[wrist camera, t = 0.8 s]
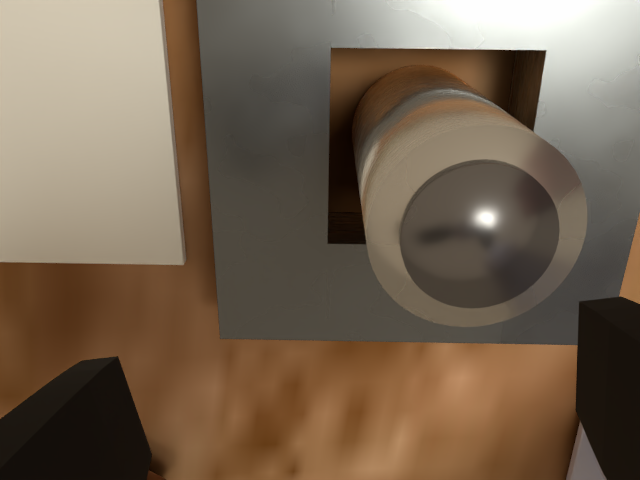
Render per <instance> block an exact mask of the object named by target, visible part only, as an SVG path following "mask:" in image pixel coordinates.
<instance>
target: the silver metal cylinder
mask: <svg viewBox="0 0 640 480" xmlns="http://www.w3.org/2000/svg"><path fill="white" fill-rule="evenodd" d="M352 143H353V150H354V157H355V165H356V172H357V179H358V186H359V193H360V201H361V208H362V215H363V222H364V229H365V236H366V244H367V250H368V256H369V260H370V263H371V266H372V269H373V271H374V273H375V275H376V277H377V279H378V281H379V282H380V284H381V285H382V287H383V288H384V290H385V291H386V292H387V293H388V294H389V295H390V296H391V298H392V299H393V300H394V301H396V302H397V303H398V304H399V305H400V306H402V307H403V308H404V309H406V310H408V311H409V312H411V313H412V314H414V315H416V316H418V317H421V318H423V319H425V320H428V321H431V322H434V323H437V324H442V325H447V326H456V327H477V326H484V325H491V324H495V323H498V322H502V321H505V320H508V319H511V318H513V317H516V316H518V315H520V314H522V313H524V312H526V311H528V310H530V309H531V308H533V307H534V306H536V305H537V304H539V303H540V302H542V301H543V300H544V299H545V298H547V297H548V296H549V295H550V294H551V293H552V292H553V291H554V290H555V289H556V288H557V287H558V286H559V285H560V284H561V283H562V282H563V280H564V279H565V278H566V277H567V275H568V274H569V273H570V271H571V269H572V268H573V266H574V264H575V262H576V261H577V258H578V256H579V254H580V252H581V249H582V246H583V243H584V239H585V236H586V229H587V203H586V197H585V193H584V190H583V187H582V183H581V181H580V179H579V177H578V175H577V173H576V171H575V170H574V168H573V167H572V165H571V164H570V163H569V161H568V160H567V159H566V158H565V157H564V156H563V155H562V154H561V153H560V152H559V151H558V150H557V149H556V148H555V147H553V146H552V145H551V144H549V143H548V142H547V141H545V140H544V139H543V138H541V137H540V136H538V135H537V134H536V133H534V132H533V131H532V130H530V129H529V128H527V127H526V126H525V125H523V124H522V123H521V122H519V121H518V120H516V119H515V118H514V117H512V116H511V115H509V114H508V113H507V112H505V111H504V110H503V109H501V108H500V107H498V106H497V105H496V104H494V103H493V102H491V101H490V100H489V99H487V98H486V97H485V96H483V95H482V94H480V93H479V92H478V91H476V90H475V89H473V88H472V87H471V86H469V85H468V84H467V83H465V82H464V81H462V80H461V79H460V78H458V77H457V76H455V75H454V74H452V73H450V72H448V71H446V70H444V69H441V68H438V67H433V66H426V65H415V66H408V67H403V68H400V69H397V70H395V71H393V72H390V73H388V74H387V75H385V76H383V77H382V78H380V79H379V80H378V81H377V82H376V83H374V84H373V85H372V86H371V87H370V88H369V90H368V91H367V92H366V93H365V95H364V96H363V97H362V99H361V101H360V103H359V105H358V107H357V109H356V112H355V115H354V119H353V124H352Z"/></svg>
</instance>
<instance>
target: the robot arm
mask: <svg viewBox="0 0 640 480" xmlns="http://www.w3.org/2000/svg"><path fill="white" fill-rule="evenodd" d="M576 412H577V414H578V417H579V419H580V424H579V428H578V432H577V436H576V440H575V445H574V449H573V453H572V457H571V461H570V465H569V469H568V474H567V478H566V480H640V304H638V303H636V302H633V301H631V300H628V299H626V298H623V297H613V298H604V299H596V300H587V301H579V316H578V350H577V384H576ZM151 457H152V453H151V450H150V447H149V444H148V442H147V439H146V436H145V433H144V430H143V427H142V424H141V421H140V419H139V416H138V413H137V410H136V407H135V404H134V401H133V398H132V395H131V393H130V390H129V387H128V384H127V381H126V378H125V375H124V372H123V370H122V367H121V364H120V361H119V358H118V356H117V357H109V358H100V359H92V360H84V361H80V362H79V363H77V364H76V365H74V366H72V367H71V368H69V369H68V370H66V371H65V372H63V373H62V374H60V375H59V376H58V377H56V378H55V379H53V380H52V381H51V382H49V383H48V384H46V385H45V386H44V387H42V388H41V389H40V390H38V391H37V392H36V393H34V394H33V395H32V396H30V397H29V398H28V399H26V400H25V401H24V402H22V403H21V404H20V405H18V406H17V407H16V408H15V409H13V410H12V411H11V412H9V413H8V414H7V415H5V416H4V417H3V418H1V419H0V480H147V476H148V471H149V466H150V461H151Z"/></svg>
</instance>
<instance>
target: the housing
mask: <svg viewBox="0 0 640 480" xmlns="http://www.w3.org/2000/svg"><path fill="white" fill-rule="evenodd" d="M196 1H197V15H198V30H199V44H200V58H201V72H202V87H203V101H204V115H205V130H206V144H207V158H208V173H209V187H210V201H211V215H212V230H213V244H214V258H215V273H216V287H217V301H218V315H219V330H220V339H266V340H323V341H380V342H437V343H494V344H551V345H578V316H579V301H587V300H596V299H604V298H613V297H619V293H620V289H621V285H622V281H623V277H624V273H625V269H626V265H627V261H628V257H629V253H630V249H631V245H632V241H633V237H634V233H635V229H636V225H637V221H638V217H639V213H640V0H196ZM331 48H404V49H487V50H516V53H515V60H514V67H513V75H512V82H511V89H510V96H509V103H508V110H507V113H508V114H509V115H511V116H512V117H514V118H515V119H516V120H518V121H519V122H521V123H522V124H523V125H525V126H526V127H527V128H529V129H530V130H532V131H533V132H534V133H536V134H537V135H538V136H540V137H541V138H543V139H544V140H545V141H547V142H548V143H549V144H551V145H552V146H553V147H555V148H556V149H557V150H558V151H559V152H560V153H561V154H562V155H563V156H564V157H565V158H566V159H567V160H568V161H569V163H570V164H571V165H572V167H573V168H574V170H575V171H576V173H577V175H578V177H579V179H580V181H581V183H582V187H583V190H584V193H585V197H586V203H587V229H586V236H585V239H584V243H583V246H582V249H581V252H580V254H579V256H578V258H577V261H576V262H575V264H574V266H573V268H572V269H571V271H570V273H569V274H568V275H567V277H566V278H565V279H564V280H563V282H562V283H561V284H560V285H559V286H558V287H557V288H556V289H555V290H554V291H553V292H552V293H551V294H550V295H549V296H548V297H547V298H545V299H544V300H543V301H542V302H540V303H539V304H537V305H536V306H534V307H533V308H531V309H530V310H528V311H526V312H524V313H522V314H520V315H518V316H516V317H513V318H511V319H508V320H505V321H502V322H498V323H495V324H491V325H484V326H477V327H456V326H447V325H442V324H437V323H434V322H431V321H428V320H425V319H423V318H421V317H418V316H416V315H414V314H412V313H411V312H409V311H408V310H406V309H404V308H403V307H402V306H400V305H399V304H398V303H397V302H396V301H394V300H393V299H392V298H391V296H390V295H389V294H388V293H387V292H386V291H385V290H384V288H383V287H382V285H381V284H380V282H379V281H378V279H377V277H376V275H375V273H374V271H373V269H372V266H371V263H370V260H369V256H368V250H367V244H366V236H365V229H364V222H363V215H362V213H328V182H329V122H330V62H331Z"/></svg>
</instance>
